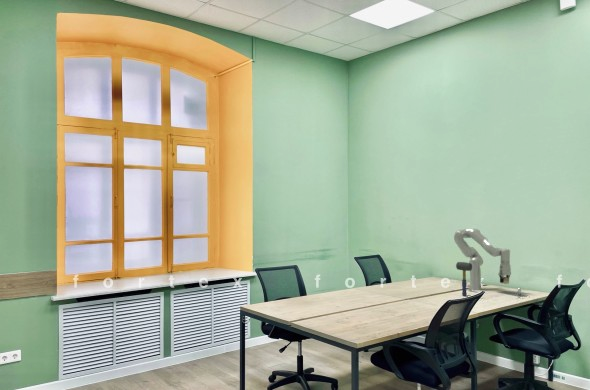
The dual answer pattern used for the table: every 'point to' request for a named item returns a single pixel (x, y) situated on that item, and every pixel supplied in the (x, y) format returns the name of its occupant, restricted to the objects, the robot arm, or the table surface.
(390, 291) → the table surface
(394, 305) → the table surface
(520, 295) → the steel shaft
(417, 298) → the table surface
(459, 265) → the rubber mallet
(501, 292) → the base plate
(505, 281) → the wooden collar
